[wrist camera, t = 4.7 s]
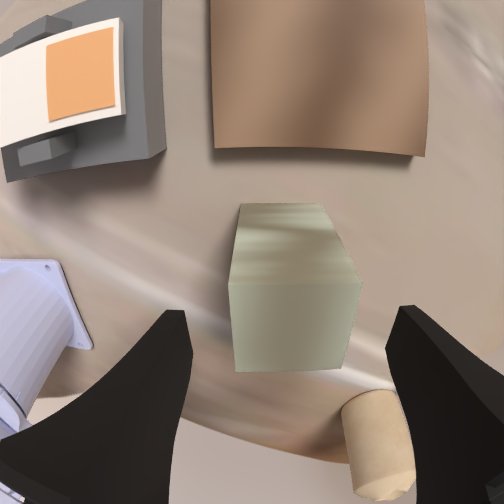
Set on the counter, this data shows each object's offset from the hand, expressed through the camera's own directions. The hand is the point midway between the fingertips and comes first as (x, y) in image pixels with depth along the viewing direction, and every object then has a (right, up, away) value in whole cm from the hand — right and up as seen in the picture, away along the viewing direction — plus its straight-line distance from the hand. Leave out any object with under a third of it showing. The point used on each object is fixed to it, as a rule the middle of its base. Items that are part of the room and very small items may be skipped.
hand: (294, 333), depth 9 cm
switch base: (-10, +11, +2) cm, 15 cm away
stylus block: (0, +3, +6) cm, 7 cm away
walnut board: (+2, +12, +1) cm, 12 cm away
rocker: (-10, +9, -2) cm, 14 cm away
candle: (+9, -11, +14) cm, 20 cm away
